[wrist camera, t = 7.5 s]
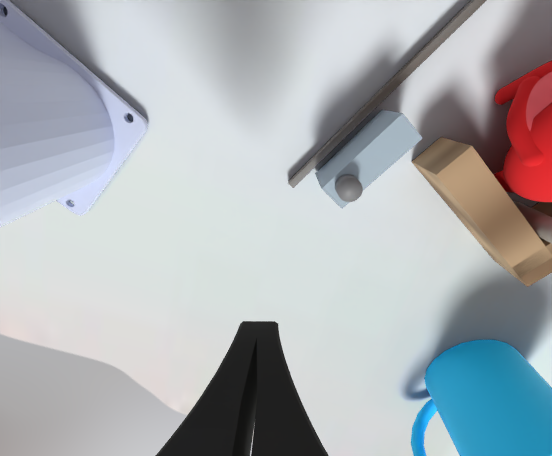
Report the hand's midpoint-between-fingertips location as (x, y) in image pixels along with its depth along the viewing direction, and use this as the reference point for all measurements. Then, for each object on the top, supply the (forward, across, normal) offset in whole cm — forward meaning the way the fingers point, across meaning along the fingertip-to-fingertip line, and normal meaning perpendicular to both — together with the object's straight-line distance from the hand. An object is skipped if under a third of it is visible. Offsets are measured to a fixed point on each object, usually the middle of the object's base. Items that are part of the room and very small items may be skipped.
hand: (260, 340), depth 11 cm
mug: (+10, -16, +15) cm, 24 cm away
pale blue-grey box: (+9, -5, -5) cm, 12 cm away
